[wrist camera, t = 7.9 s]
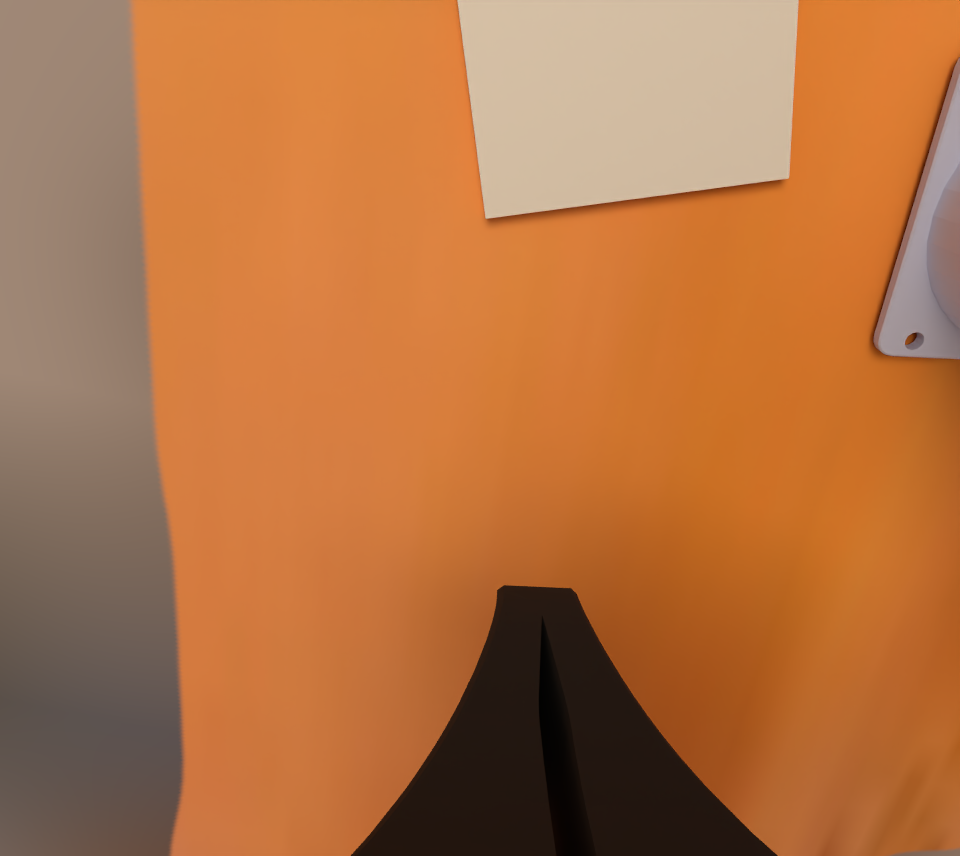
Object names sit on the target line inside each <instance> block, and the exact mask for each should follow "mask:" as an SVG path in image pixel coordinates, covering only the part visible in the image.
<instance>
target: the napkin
mask: <svg viewBox="0 0 960 856" xmlns="http://www.w3.org/2000/svg"><path fill="white" fill-rule="evenodd" d="M458 8H459V16H460V24H461V32H462V39H463V47H464V55H465V63H466V70H467V78H468V86H469V94H470V101H471V109H472V117H473V125H474V132H475V140H476V148H477V156H478V164H479V171H480V179H481V187H482V195H483V202H484V210H485V218H486V219H488V218H495V217H503V216H510V215H518V214H525V213H533V212H540V211H548V210H555V209H563V208H570V207H578V206H585V205H593V204H600V203H608V202H615V201H623V200H630V199H638V198H645V197H653V196H660V195H668V194H675V193H683V192H690V191H698V190H705V189H713V188H720V187H728V186H735V185H743V184H750V183H758V182H765V181H773V180H780V179H788V178H789V169H790V150H791V132H792V113H793V94H794V75H795V57H796V38H797V19H798V0H458Z"/></svg>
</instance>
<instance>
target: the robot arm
mask: <svg viewBox="0 0 960 856" xmlns="http://www.w3.org/2000/svg"><path fill="white" fill-rule="evenodd" d="M916 332H917V337H916V339H915V341H914V342H912V343H911V344H908V345H905V340H906V338H907V337H908V336H909V335H910V334H912V333H916ZM873 342H874V345H875V347H876V348H877V349H878V350H880V351H881V352H882V353H884V354H885V355H889V356H901V357H922V358H944V359H960V57H959V59H958V61H957V63H956V65H955V68H954V71H953V74H952V78H951V81H950V84H949V88H948V91H947V94H946V98H945V101H944V104H943V108H942V111H941V114H940V118H939V121H938V124H937V128H936V131H935V134H934V138H933V141H932V144H931V148H930V151H929V154H928V157H927V161H926V164H925V167H924V171H923V174H922V177H921V181H920V184H919V187H918V191H917V194H916V197H915V201H914V204H913V207H912V211H911V214H910V217H909V221H908V224H907V227H906V231H905V234H904V237H903V241H902V244H901V247H900V250H899V254H898V257H897V260H896V264H895V267H894V270H893V274H892V277H891V280H890V284H889V287H888V290H887V294H886V297H885V300H884V304H883V307H882V310H881V314H880V317H879V320H878V324H877V327H876V330H875V334H874V340H873ZM351 856H777V855H776V854H775V853H774V852H773V851H772V850H771V849H770V848H768V847H767V846H766V845H765V844H764V843H763V842H762V841H761V840H759V839H758V838H757V837H756V836H755V835H754V834H753V833H752V832H751V831H750V830H749V829H748V828H747V827H746V826H745V825H744V824H743V823H742V822H741V821H740V820H739V819H738V818H737V817H736V816H735V815H734V814H733V813H732V812H731V811H730V810H729V809H728V808H727V807H726V806H725V805H724V804H723V803H722V802H721V801H720V800H719V799H718V798H717V797H716V796H715V795H714V794H713V793H712V792H711V791H710V790H709V789H708V788H707V787H706V786H705V785H704V784H703V783H702V782H701V780H700V779H699V778H698V777H697V776H696V775H695V774H694V773H693V771H692V770H691V769H690V768H689V767H688V766H687V765H686V764H685V762H684V761H683V760H682V759H681V758H680V756H679V755H678V754H677V753H676V752H675V750H674V749H673V748H672V747H671V746H670V744H669V743H668V742H667V741H666V739H665V738H664V737H663V736H662V734H661V733H660V732H659V730H658V729H657V728H656V726H655V725H654V724H653V722H652V721H651V720H650V718H649V717H648V716H647V714H646V713H645V711H644V710H643V709H642V707H641V706H640V704H639V703H638V702H637V700H636V699H635V697H634V696H633V694H632V693H631V691H630V690H629V688H628V687H627V685H626V684H625V682H624V681H623V679H622V678H621V676H620V674H619V673H618V671H617V669H616V668H615V666H614V665H613V663H612V661H611V660H610V658H609V657H608V655H607V653H606V651H605V650H604V648H603V646H602V645H601V643H600V641H599V639H598V637H597V635H596V634H595V632H594V630H593V628H592V626H591V624H590V622H589V620H588V618H587V616H586V614H585V612H584V610H583V608H582V606H581V603H580V601H579V599H578V596H577V594H576V593H575V592H574V591H573V590H572V589H571V588H550V587H528V586H506V585H504V586H503V587H501V588H500V589H498V590H497V603H496V609H495V613H494V617H493V621H492V625H491V628H490V631H489V634H488V637H487V640H486V643H485V645H484V648H483V651H482V653H481V656H480V658H479V661H478V663H477V666H476V668H475V671H474V673H473V675H472V677H471V679H470V681H469V683H468V685H467V688H466V690H465V692H464V694H463V696H462V698H461V700H460V702H459V704H458V706H457V708H456V710H455V712H454V714H453V715H452V717H451V719H450V721H449V723H448V724H447V726H446V728H445V730H444V731H443V733H442V735H441V736H440V738H439V740H438V741H437V743H436V745H435V746H434V748H433V749H432V751H431V753H430V754H429V756H428V757H427V759H426V760H425V762H424V763H423V765H422V766H421V768H420V769H419V771H418V772H417V774H416V775H415V777H414V778H413V779H412V781H411V782H410V784H409V785H408V786H407V788H406V789H405V791H404V792H403V793H402V795H401V796H400V797H399V798H398V800H397V801H396V802H395V803H394V805H393V806H392V807H391V808H390V810H389V811H388V812H387V814H386V815H385V816H384V817H383V819H382V820H381V821H380V822H379V824H378V825H377V826H376V827H375V829H374V830H373V831H372V832H371V834H370V835H369V836H368V837H367V838H366V839H365V841H364V842H363V843H362V844H361V845H360V846H359V847H358V848H357V849H356V850H355V852H354V853H353V854H352V855H351Z"/></svg>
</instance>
